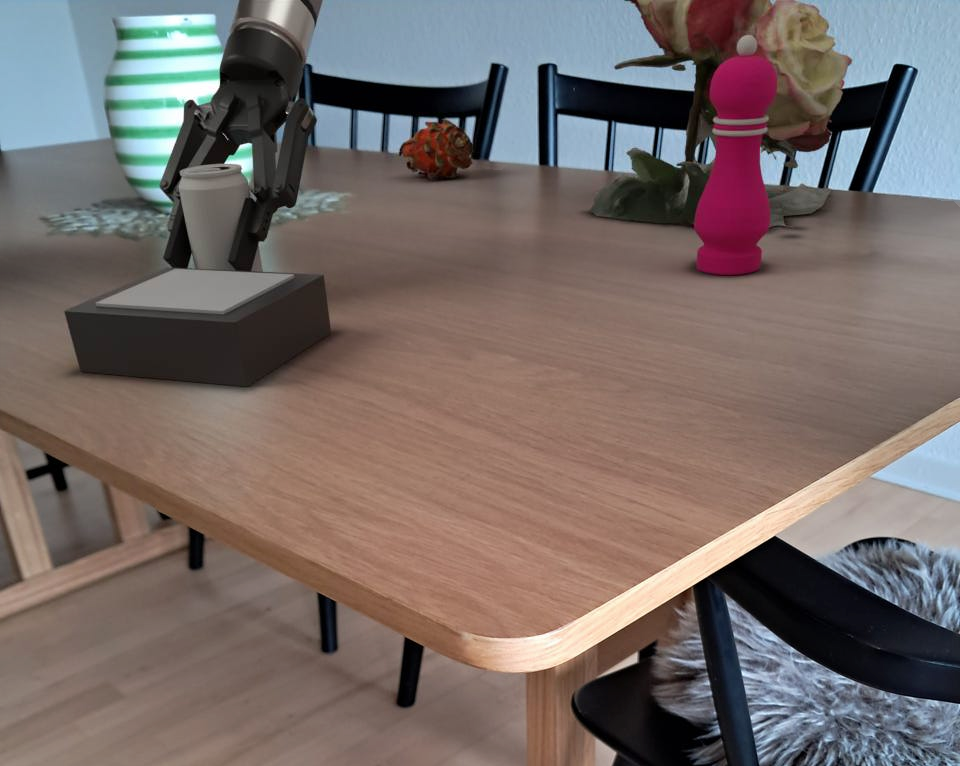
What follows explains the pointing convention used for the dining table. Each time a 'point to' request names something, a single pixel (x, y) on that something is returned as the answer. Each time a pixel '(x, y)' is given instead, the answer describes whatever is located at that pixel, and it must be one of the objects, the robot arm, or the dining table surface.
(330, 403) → the dining table surface
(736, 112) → the pepper mill
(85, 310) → the cup warmer
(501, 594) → the dining table surface
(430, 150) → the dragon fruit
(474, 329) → the dining table surface
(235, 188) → the beverage can
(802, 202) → the rose bouquet
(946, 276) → the dining table surface
